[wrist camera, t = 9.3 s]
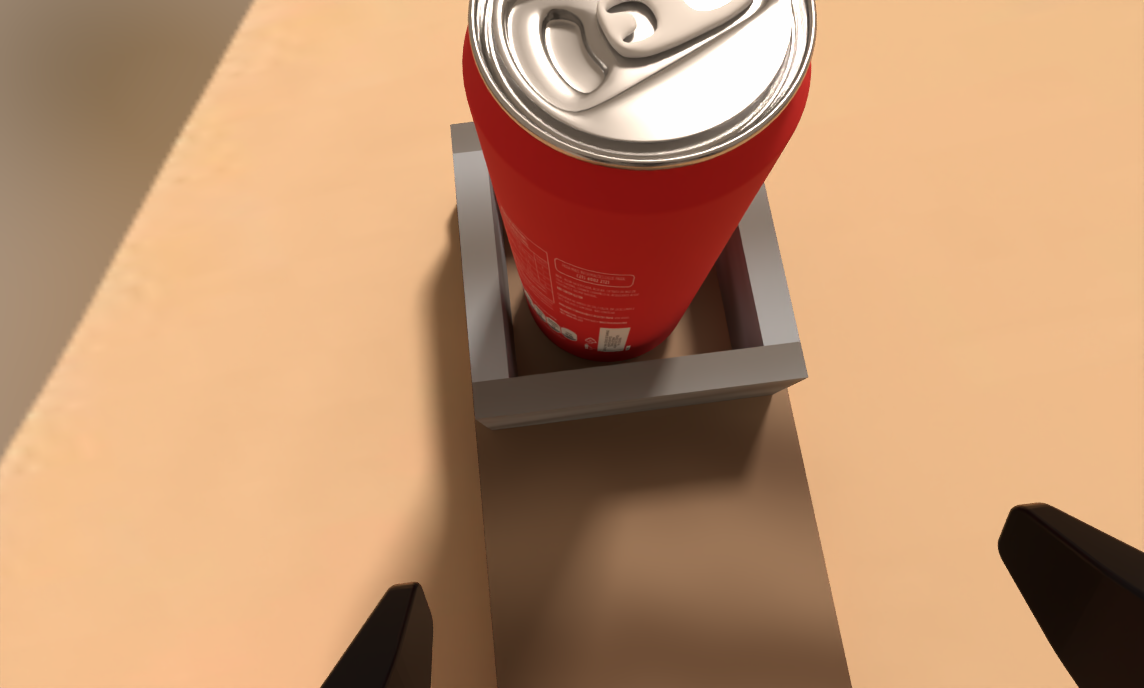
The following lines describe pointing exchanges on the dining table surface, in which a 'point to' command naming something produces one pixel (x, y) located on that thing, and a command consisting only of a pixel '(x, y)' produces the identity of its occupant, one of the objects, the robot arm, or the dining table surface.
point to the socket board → (645, 480)
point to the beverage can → (629, 147)
